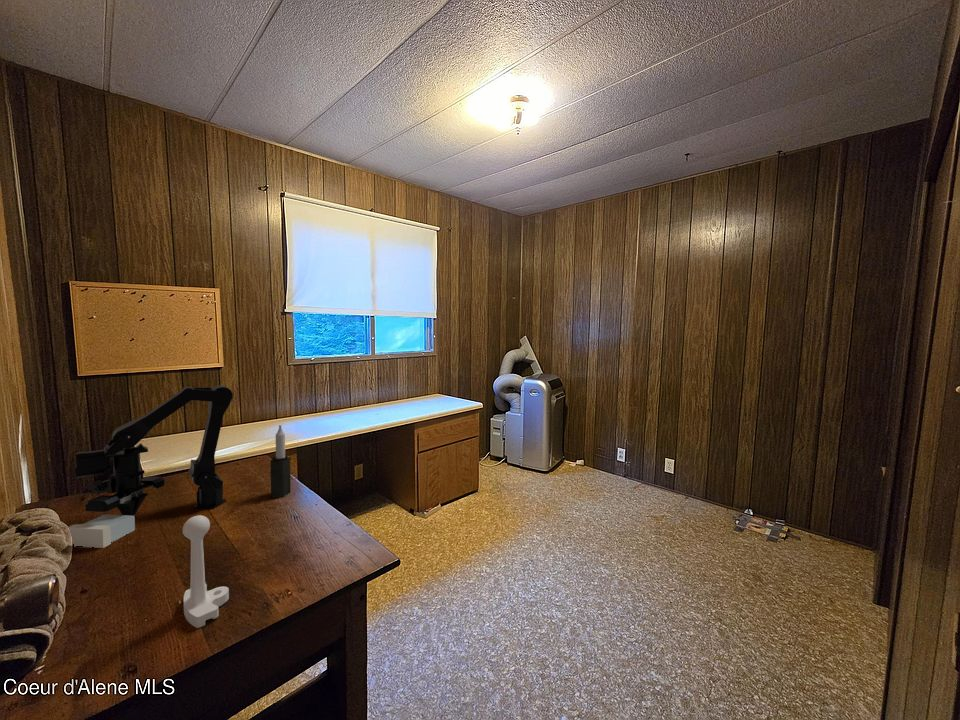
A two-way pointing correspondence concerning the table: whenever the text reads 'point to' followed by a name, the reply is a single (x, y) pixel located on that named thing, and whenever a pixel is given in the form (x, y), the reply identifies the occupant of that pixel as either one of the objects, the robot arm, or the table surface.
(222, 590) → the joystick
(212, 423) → the robot arm
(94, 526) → the wall
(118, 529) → the sled
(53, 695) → the table surface
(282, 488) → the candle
